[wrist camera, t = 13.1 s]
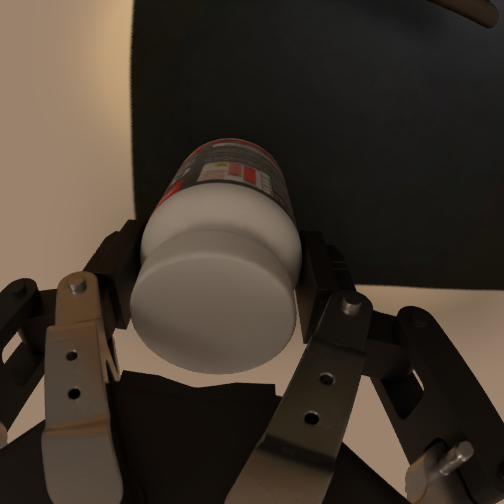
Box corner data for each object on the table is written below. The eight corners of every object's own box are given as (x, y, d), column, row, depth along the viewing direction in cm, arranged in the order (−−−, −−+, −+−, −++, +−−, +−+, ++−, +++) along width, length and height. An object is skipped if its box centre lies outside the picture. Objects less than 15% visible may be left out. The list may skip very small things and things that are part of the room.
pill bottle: (181, 130, 15) (99, 218, 7) (293, 144, 16) (344, 246, 7) (175, 229, 18) (125, 370, 10) (274, 241, 19) (291, 389, 10)
